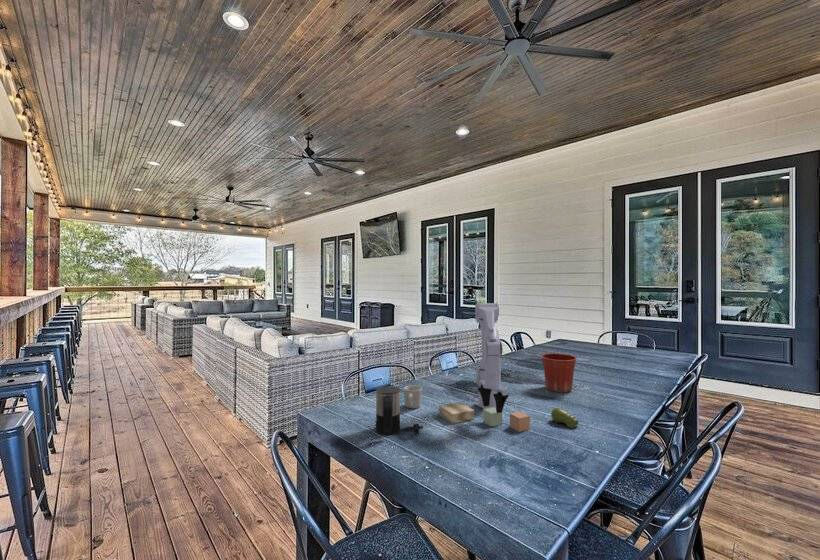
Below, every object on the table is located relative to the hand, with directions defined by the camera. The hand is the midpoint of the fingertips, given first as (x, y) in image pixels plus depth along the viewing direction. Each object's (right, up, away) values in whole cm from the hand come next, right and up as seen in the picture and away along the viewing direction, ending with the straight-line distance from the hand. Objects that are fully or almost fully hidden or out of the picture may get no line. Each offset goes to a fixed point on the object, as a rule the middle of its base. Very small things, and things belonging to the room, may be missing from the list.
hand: (492, 409), depth 141 cm
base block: (-13, -6, +6) cm, 15 cm away
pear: (+27, -6, 0) cm, 28 cm away
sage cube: (0, -6, 0) cm, 6 cm away
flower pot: (+42, -5, +43) cm, 61 cm away
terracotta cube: (+9, -6, -4) cm, 11 cm away
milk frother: (-35, -6, -7) cm, 37 cm away
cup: (-30, -5, +16) cm, 35 cm away
